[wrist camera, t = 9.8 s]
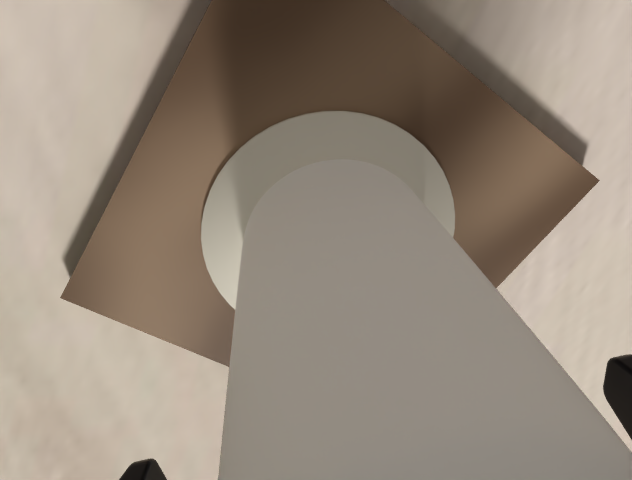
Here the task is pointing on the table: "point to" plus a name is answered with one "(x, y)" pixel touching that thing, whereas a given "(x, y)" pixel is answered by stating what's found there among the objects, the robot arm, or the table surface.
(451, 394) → the can
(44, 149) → the table surface
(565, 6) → the table surface
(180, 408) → the table surface
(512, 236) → the walnut board
